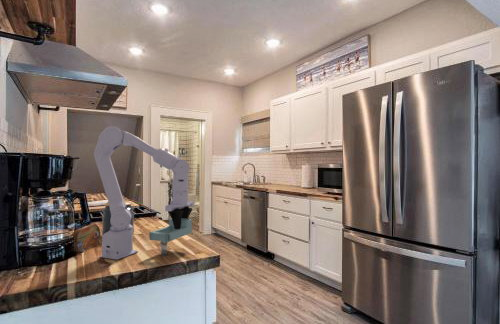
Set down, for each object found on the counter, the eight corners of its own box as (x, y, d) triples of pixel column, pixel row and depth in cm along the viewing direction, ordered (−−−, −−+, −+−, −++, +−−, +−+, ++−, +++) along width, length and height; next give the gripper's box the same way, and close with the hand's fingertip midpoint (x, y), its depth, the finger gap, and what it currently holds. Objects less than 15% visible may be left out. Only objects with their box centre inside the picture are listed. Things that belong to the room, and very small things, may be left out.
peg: (164, 256, 97) (164, 242, 97) (158, 255, 98) (158, 242, 98) (169, 254, 99) (169, 241, 99) (163, 253, 100) (163, 240, 100)
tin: (77, 255, 100) (77, 230, 100) (68, 255, 100) (69, 230, 100) (101, 243, 115) (101, 222, 115) (93, 243, 115) (93, 222, 115)
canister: (104, 233, 132) (105, 195, 133) (135, 231, 136) (135, 194, 137) (99, 240, 120) (99, 198, 120) (132, 237, 124) (132, 196, 124)
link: (168, 242, 95) (167, 226, 95) (149, 239, 98) (149, 225, 98) (191, 232, 107) (191, 219, 107) (174, 230, 110) (174, 217, 110)
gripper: (176, 193, 99) (176, 233, 99) (200, 190, 113) (200, 225, 112) (160, 192, 102) (160, 231, 102) (185, 190, 115) (185, 224, 115)
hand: (180, 228), depth 107 cm, fingers closed on link, 3 cm apart
